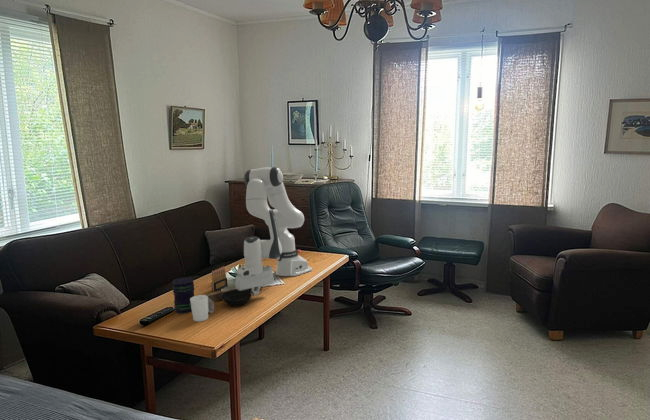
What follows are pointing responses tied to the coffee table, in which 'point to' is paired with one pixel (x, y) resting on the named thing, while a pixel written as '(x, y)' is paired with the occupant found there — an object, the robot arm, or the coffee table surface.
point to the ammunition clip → (219, 279)
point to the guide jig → (219, 298)
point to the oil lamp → (237, 297)
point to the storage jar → (183, 294)
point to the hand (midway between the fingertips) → (255, 294)
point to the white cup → (199, 307)
